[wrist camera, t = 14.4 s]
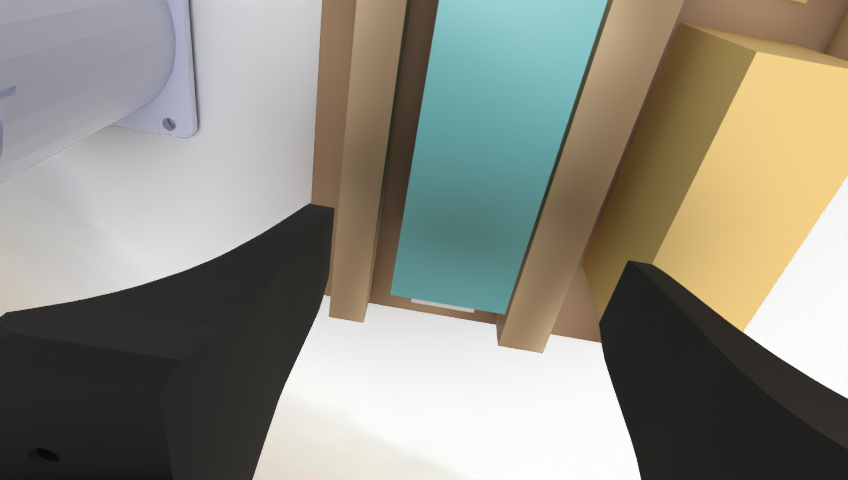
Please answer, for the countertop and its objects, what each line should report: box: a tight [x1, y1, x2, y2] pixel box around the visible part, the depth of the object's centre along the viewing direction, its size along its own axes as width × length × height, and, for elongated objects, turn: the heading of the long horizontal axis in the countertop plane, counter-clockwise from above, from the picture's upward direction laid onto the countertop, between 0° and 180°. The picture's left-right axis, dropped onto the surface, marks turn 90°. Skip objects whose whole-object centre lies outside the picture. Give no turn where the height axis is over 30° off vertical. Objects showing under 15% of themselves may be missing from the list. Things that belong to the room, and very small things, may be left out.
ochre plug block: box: [582, 23, 848, 332], centre depth 17 cm, size 4×11×5 cm, turn 171°
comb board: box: [311, 0, 848, 353], centre depth 19 cm, size 20×17×3 cm
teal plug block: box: [390, 0, 608, 314], centre depth 17 cm, size 4×11×5 cm, turn 170°
